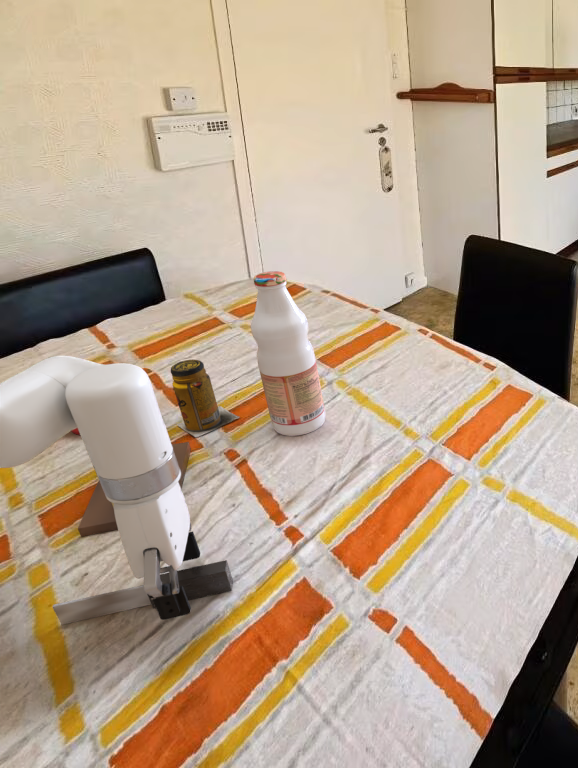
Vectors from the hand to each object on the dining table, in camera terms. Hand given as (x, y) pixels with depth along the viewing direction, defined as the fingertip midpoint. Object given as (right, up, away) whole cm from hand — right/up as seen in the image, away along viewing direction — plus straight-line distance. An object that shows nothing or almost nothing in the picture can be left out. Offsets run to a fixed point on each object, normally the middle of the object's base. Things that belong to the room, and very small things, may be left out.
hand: (182, 585), depth 77 cm
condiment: (-15, +18, +37) cm, 44 cm away
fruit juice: (+2, +18, +37) cm, 41 cm away
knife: (-3, -2, 0) cm, 4 cm away
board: (-17, +9, +20) cm, 28 cm away
